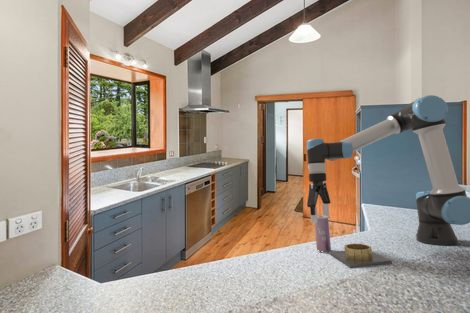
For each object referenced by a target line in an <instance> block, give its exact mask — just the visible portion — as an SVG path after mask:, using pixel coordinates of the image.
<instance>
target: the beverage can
mask: <svg viewBox="0 0 470 313" xmlns="http://www.w3.org/2000/svg"><path fill="white" fill-rule="evenodd" d="M317 219H318V223H314V232H315V233H314V234H315V245H316V250H317V251H318V250H319V251H323V252H327V253H330V252H332V251H331V250H332V246H331V235H330V223H329V222H330V221H329V218H328V217H327V216H323V215H317ZM319 251H318V252H319ZM329 251H330V252H329Z"/></svg>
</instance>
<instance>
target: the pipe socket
mask: <svg viewBox="0 0 470 313" xmlns="http://www.w3.org/2000/svg"><path fill="white" fill-rule="evenodd" d="M343 249H344V250H338V251H330V252H329V256H331V257H333V258H334V259H336V260H337V261H338V262H340V263H342V264H343V265H345V266H347V267H348V268H350V269H351V268H353V269H354V268H362V267H363V268H364V267H375V266H382V265H383V266H385V265H392V264H393V262H392V261H393V260H391V259H389V258H387V257H385V256H382V255H380V254H378V253H376V252H375V251H373V249H372V246H370V245H367V244H365V243H347V244H344V246H343Z"/></svg>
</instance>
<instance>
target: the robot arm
mask: <svg viewBox="0 0 470 313" xmlns="http://www.w3.org/2000/svg"><path fill="white" fill-rule="evenodd" d="M448 113H449V106H448V104H447V102H446V101H445V100H444V99H443V98H442V97H440V96H437V95H435V94H434V95H433V94H431V95H425V96H421V97H418V98H416V100H414V101H412V102H410V103H409V104H406V105H405V106H403V107H401V108H400V109H399V110H398V111H395V112H394V113H392V114H390V115H389V116H387V117H386V119H385V120H382V121H380V122H377V123H376V124H374V125H372V126H369V127H368V128H365V129H363V130H361V131H359V132H357V133H355V134H352V135H351V136H348V137H346V138H344V139H342V140H339V141H337V142H336V141H335V142H325V141H324V139H323V138H311V139H308V140H307V141H306V154H307V155H306V156H307V168H308V181H309V184H308V196H307V204H306V206H307V208H309V213H310V223H313V224H315V223H318V219H317V216H318V208H317V207H316V206H317V202H318V199H319V197H320V199H321V201H322V203H321V207H322V216H327V217H328V219H330V210H329V209H330V208H329V206H330V205H329V204H331V199H330V195H329V194H330V193H329V191H328V187H327V182H326V181H327V173H326V172H327V169H326V168H327V167H326V160H328V161H331V162H334V161H336V160H342V159H350V158H352V157H353V156H354V152H355V151H358V150H361V149H363V148H365V147H367V146H369V145H371V144H374V143H376V142H378V141H380V140H382V139H385V138H387V137H389V136H392V135H394V134H395V135H398V134H401V133H403V132H406V131H410V130H411V131H412V133H414V134H416V135H418V139H419V142H420V147H421V150H422V154H423V158H424V161H425V164H426V168H427V172H428V175H429V179H430V183H431V186H432V188H431V190H427V191H426V190H425V191H418V192H416V194H415V201H416V208H417V215H418V216H417V218H418V226H417V233H416V235H415V239H416V241H417V242H420V243H424V244H428V245H436V246H454V245H455V246H456V245H457V244H459V240H458V237H457V235H456V233H455V231H454V229H453V227H452V225H456V226H464V225H469V223H470V197H468V196H467V193H466V189H465V188H464V187H462V186H460V185H459V182H458V179H457V175H456V171H455V167H454V164H453V161H452V157H451V154H450V150H449V147H448V143H447V141H446V140H447V139H446V136H445V133H444V130H443V129H444V128H445V126H446V119H445V118H446V116H447V114H448ZM310 182H311V183H310Z"/></svg>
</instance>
